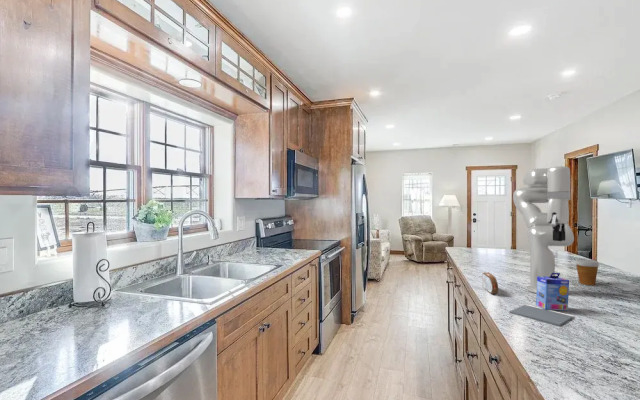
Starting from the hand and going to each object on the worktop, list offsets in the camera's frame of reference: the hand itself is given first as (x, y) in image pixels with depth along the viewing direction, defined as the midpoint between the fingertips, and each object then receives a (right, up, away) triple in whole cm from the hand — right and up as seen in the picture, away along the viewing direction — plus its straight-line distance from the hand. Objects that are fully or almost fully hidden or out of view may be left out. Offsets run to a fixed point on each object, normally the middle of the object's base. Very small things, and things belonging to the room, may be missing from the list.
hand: (559, 240), depth 128 cm
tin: (-18, -28, +20) cm, 39 cm away
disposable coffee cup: (+40, -27, +33) cm, 59 cm away
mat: (-15, -27, -11) cm, 33 cm away
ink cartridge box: (-7, -27, -5) cm, 28 cm away
